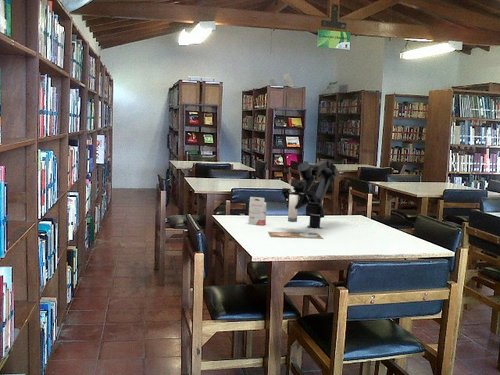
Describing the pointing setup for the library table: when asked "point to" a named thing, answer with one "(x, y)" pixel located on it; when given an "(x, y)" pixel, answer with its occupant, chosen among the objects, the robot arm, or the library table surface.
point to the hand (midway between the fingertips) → (291, 208)
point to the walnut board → (295, 235)
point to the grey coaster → (308, 235)
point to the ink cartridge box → (257, 211)
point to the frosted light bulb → (292, 208)
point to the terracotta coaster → (281, 234)
